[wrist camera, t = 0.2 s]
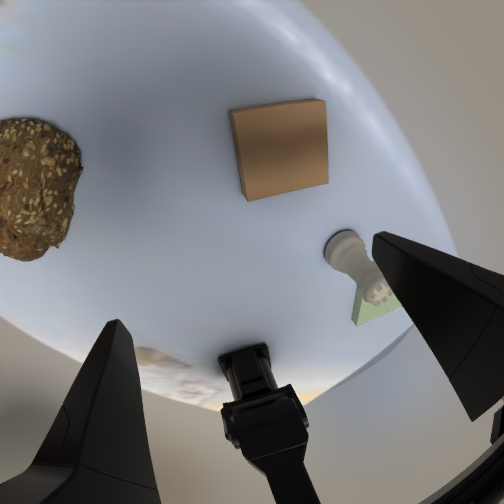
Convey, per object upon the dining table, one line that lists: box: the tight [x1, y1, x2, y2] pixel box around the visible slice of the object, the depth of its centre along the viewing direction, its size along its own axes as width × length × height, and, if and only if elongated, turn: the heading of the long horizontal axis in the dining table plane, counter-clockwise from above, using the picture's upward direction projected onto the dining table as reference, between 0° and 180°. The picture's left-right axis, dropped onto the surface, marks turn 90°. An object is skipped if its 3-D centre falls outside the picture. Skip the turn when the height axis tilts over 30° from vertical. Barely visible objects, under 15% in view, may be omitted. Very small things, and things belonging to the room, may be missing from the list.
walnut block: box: [229, 99, 328, 202], centre depth 21 cm, size 7×7×2 cm
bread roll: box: [0, 118, 83, 262], centre depth 15 cm, size 13×12×5 cm
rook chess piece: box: [325, 231, 393, 306], centre depth 26 cm, size 4×4×8 cm
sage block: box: [352, 262, 402, 326], centre depth 36 cm, size 10×10×2 cm
